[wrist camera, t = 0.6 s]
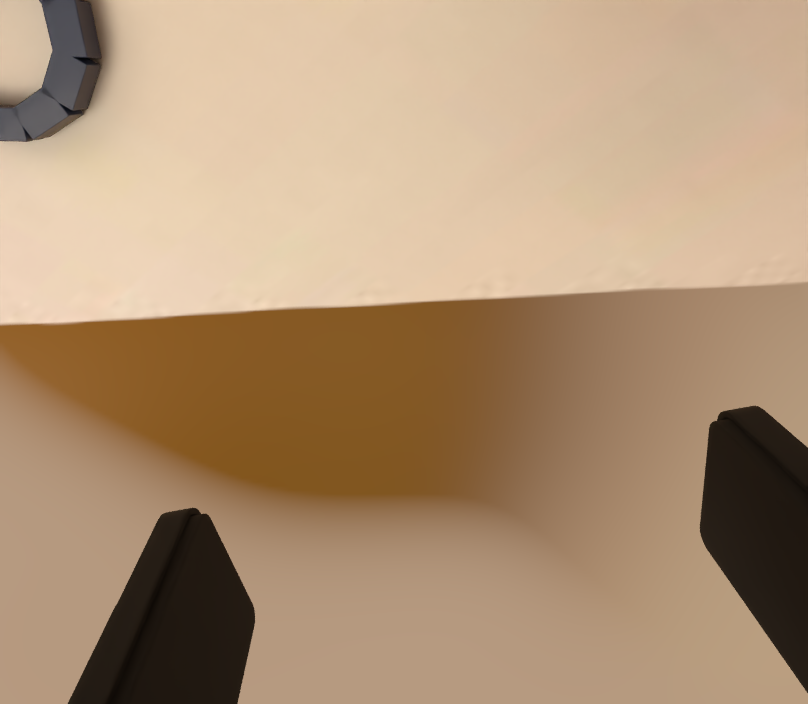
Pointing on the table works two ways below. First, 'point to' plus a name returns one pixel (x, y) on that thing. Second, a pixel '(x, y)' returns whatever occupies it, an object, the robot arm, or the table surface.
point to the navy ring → (58, 75)
